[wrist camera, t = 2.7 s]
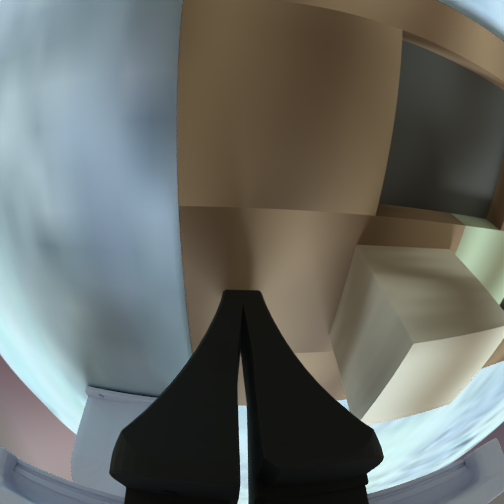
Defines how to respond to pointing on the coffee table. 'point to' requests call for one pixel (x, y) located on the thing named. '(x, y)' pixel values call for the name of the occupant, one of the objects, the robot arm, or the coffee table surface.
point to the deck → (332, 153)
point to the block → (411, 331)
